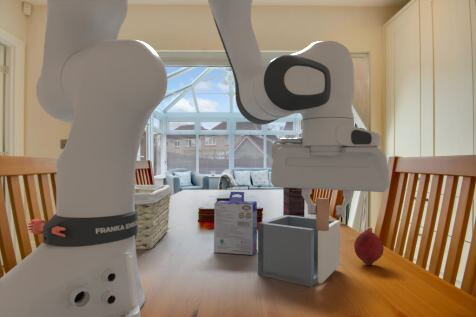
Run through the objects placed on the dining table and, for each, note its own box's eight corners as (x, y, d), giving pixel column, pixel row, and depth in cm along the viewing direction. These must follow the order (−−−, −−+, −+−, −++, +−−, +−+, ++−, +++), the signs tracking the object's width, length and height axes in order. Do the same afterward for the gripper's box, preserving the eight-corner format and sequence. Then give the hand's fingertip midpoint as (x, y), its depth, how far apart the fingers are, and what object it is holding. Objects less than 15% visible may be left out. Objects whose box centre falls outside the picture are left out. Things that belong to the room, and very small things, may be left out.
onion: (371, 271, 67) (371, 231, 67) (348, 263, 72) (348, 226, 72) (389, 266, 70) (389, 228, 70) (365, 259, 75) (365, 223, 75)
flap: (326, 283, 57) (326, 199, 57) (313, 281, 58) (314, 198, 58) (343, 265, 67) (343, 194, 67) (332, 263, 68) (332, 193, 68)
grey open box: (311, 286, 58) (311, 230, 58) (257, 274, 64) (258, 223, 64) (334, 268, 68) (334, 220, 68) (285, 259, 74) (285, 215, 74)
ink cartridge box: (257, 249, 82) (257, 191, 83) (253, 255, 77) (254, 193, 77) (219, 247, 85) (219, 190, 85) (213, 253, 79) (213, 192, 79)
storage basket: (153, 252, 80) (153, 191, 81) (86, 252, 80) (86, 191, 80) (172, 231, 104) (172, 184, 105) (120, 231, 104) (121, 184, 104)
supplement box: (305, 238, 94) (305, 183, 94) (288, 239, 94) (288, 183, 94) (298, 232, 103) (298, 181, 103) (282, 232, 102) (282, 181, 103)
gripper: (266, 137, 60) (265, 213, 60) (389, 134, 51) (389, 223, 51) (277, 139, 66) (276, 208, 66) (390, 137, 57) (389, 217, 57)
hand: (326, 215), depth 58 cm, fingers open, 3 cm apart
